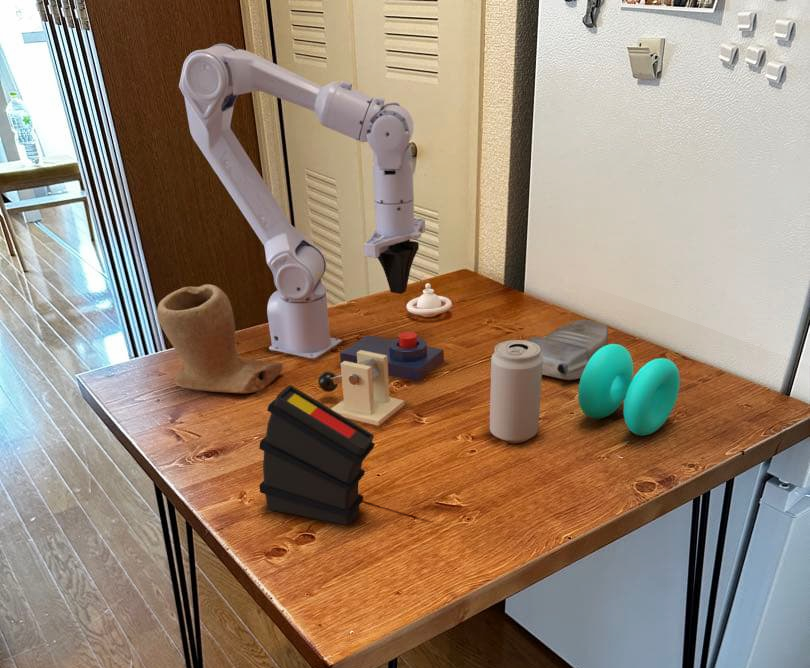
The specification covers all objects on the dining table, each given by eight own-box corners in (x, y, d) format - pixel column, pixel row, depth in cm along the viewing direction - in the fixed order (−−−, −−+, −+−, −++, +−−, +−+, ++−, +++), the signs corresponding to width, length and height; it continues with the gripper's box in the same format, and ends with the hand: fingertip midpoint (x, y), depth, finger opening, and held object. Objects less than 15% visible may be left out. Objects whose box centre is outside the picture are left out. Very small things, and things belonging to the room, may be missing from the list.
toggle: (319, 396, 114) (311, 378, 113) (331, 388, 116) (322, 371, 115) (371, 383, 108) (362, 363, 107) (382, 375, 110) (374, 356, 109)
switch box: (330, 415, 112) (324, 363, 108) (357, 395, 117) (353, 345, 113) (378, 427, 109) (375, 374, 104) (404, 406, 114) (402, 354, 109)
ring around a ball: (443, 324, 138) (458, 308, 144) (442, 292, 134) (457, 277, 140) (400, 322, 140) (416, 306, 146) (398, 289, 137) (414, 275, 143)
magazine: (254, 478, 96) (288, 381, 86) (348, 535, 96) (393, 444, 86) (238, 495, 94) (271, 396, 84) (334, 553, 93) (379, 461, 83)
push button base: (341, 366, 126) (338, 342, 123) (368, 348, 131) (366, 324, 129) (418, 383, 120) (417, 358, 117) (443, 363, 125) (443, 338, 123)
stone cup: (158, 398, 119) (134, 299, 110) (201, 365, 128) (182, 271, 119) (248, 411, 115) (230, 308, 106) (286, 376, 123) (273, 279, 115)
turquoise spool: (613, 399, 113) (621, 331, 107) (677, 422, 107) (689, 351, 101) (570, 425, 107) (577, 355, 101) (635, 450, 101) (646, 377, 96)
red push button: (395, 347, 122) (394, 336, 121) (404, 341, 124) (404, 330, 123) (411, 351, 121) (411, 339, 119) (420, 344, 122) (420, 333, 121)
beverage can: (542, 425, 108) (548, 340, 101) (532, 448, 103) (537, 360, 96) (495, 419, 109) (498, 335, 102) (484, 442, 105) (485, 355, 98)
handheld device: (626, 342, 129) (629, 314, 126) (572, 390, 116) (575, 360, 113) (571, 331, 134) (573, 303, 131) (513, 376, 121) (515, 347, 118)
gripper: (391, 214, 110) (396, 310, 118) (441, 190, 120) (442, 280, 128) (349, 209, 113) (356, 303, 121) (401, 186, 123) (404, 275, 131)
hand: (398, 291), depth 125 cm, fingers closed
